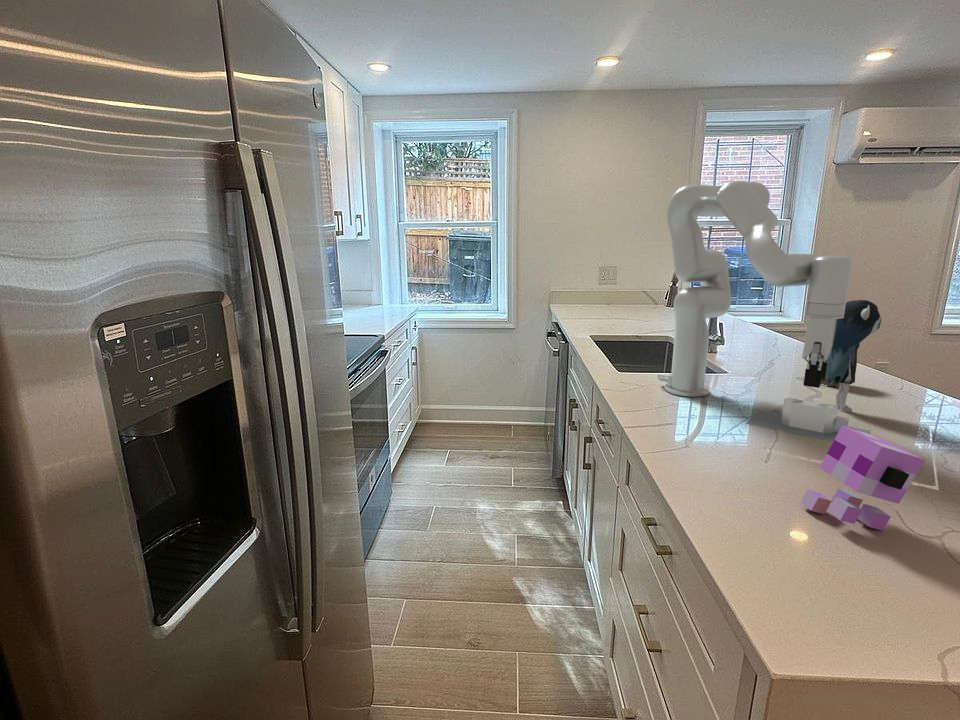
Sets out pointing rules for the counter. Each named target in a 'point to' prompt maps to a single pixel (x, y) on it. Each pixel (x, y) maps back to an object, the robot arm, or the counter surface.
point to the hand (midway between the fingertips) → (814, 381)
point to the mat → (775, 423)
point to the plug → (811, 415)
